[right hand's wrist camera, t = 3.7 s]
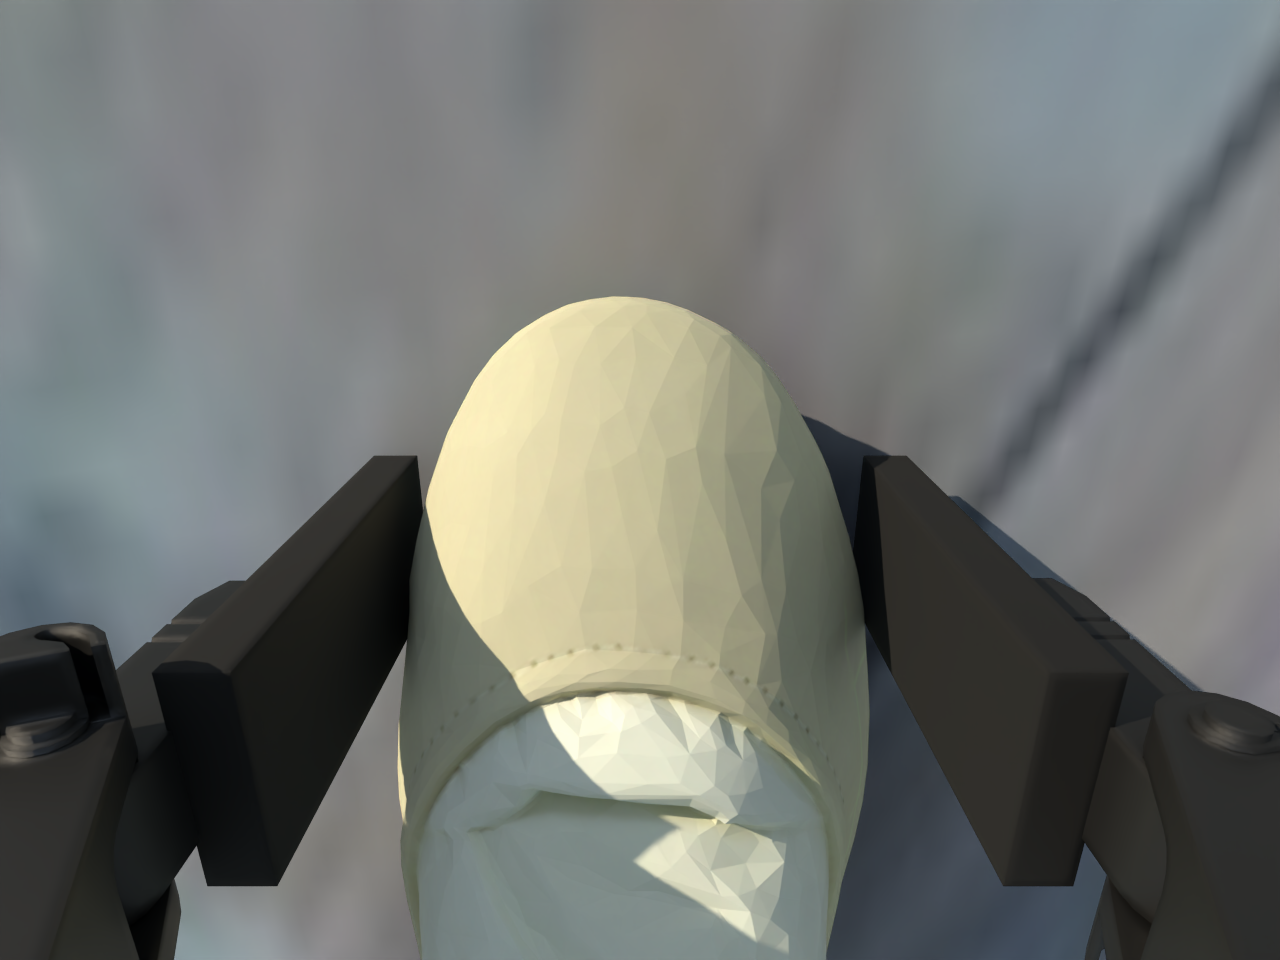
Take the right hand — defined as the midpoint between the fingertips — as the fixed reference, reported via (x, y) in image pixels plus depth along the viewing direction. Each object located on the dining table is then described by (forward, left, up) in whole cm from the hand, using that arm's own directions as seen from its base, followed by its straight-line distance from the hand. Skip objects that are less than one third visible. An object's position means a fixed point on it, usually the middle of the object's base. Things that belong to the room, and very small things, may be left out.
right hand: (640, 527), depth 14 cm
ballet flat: (0, +8, 0) cm, 8 cm away
